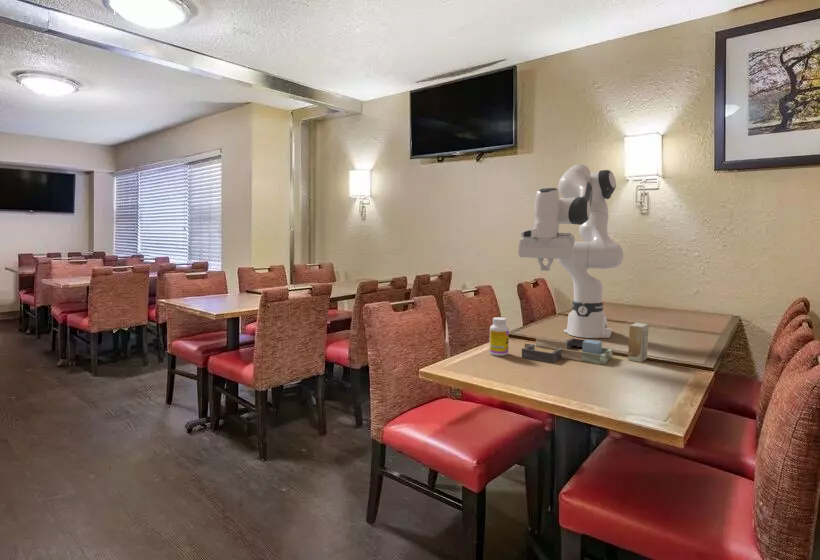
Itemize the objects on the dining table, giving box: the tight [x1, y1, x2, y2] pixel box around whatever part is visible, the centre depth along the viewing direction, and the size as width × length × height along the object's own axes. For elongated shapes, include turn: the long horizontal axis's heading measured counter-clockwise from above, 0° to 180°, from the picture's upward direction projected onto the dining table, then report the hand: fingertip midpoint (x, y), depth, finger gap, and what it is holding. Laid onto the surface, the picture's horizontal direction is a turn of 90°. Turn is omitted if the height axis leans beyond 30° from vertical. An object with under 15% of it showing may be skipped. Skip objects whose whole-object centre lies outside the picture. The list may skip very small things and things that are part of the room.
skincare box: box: [627, 322, 650, 363], centre depth 163 cm, size 6×4×12 cm
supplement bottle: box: [488, 316, 510, 357], centre depth 171 cm, size 7×7×13 cm
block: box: [581, 338, 603, 355], centre depth 165 cm, size 5×5×6 cm
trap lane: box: [521, 337, 614, 366], centre depth 170 cm, size 27×28×3 cm
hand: (545, 270), depth 177 cm, fingers closed
